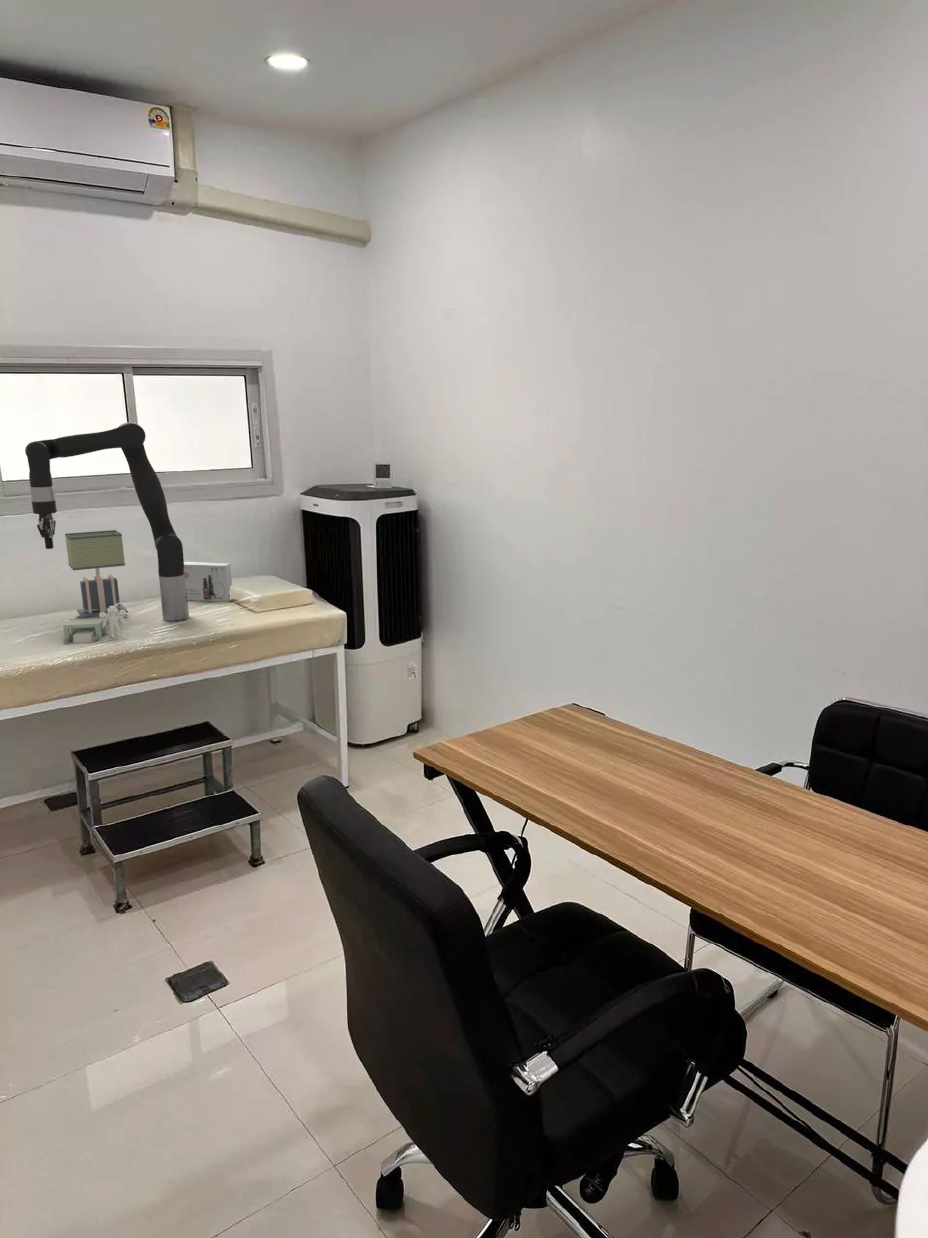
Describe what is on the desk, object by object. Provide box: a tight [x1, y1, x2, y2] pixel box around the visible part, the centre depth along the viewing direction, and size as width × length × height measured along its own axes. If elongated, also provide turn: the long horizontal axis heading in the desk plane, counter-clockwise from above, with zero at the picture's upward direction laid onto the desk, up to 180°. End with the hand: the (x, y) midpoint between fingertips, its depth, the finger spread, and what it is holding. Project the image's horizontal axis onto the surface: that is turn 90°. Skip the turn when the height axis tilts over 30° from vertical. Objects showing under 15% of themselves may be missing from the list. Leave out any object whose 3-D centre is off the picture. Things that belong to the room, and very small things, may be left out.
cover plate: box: [72, 628, 96, 644], centre depth 292 cm, size 6×10×3 cm, turn 10°
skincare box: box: [184, 561, 233, 603], centre depth 350 cm, size 21×6×16 cm, turn 80°
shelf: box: [62, 618, 108, 645], centre depth 292 cm, size 12×13×6 cm
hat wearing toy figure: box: [99, 601, 127, 638], centre depth 294 cm, size 9×4×12 cm, turn 122°
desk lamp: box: [64, 529, 129, 619], centre depth 320 cm, size 18×14×33 cm
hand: (49, 548), depth 293 cm, fingers closed
